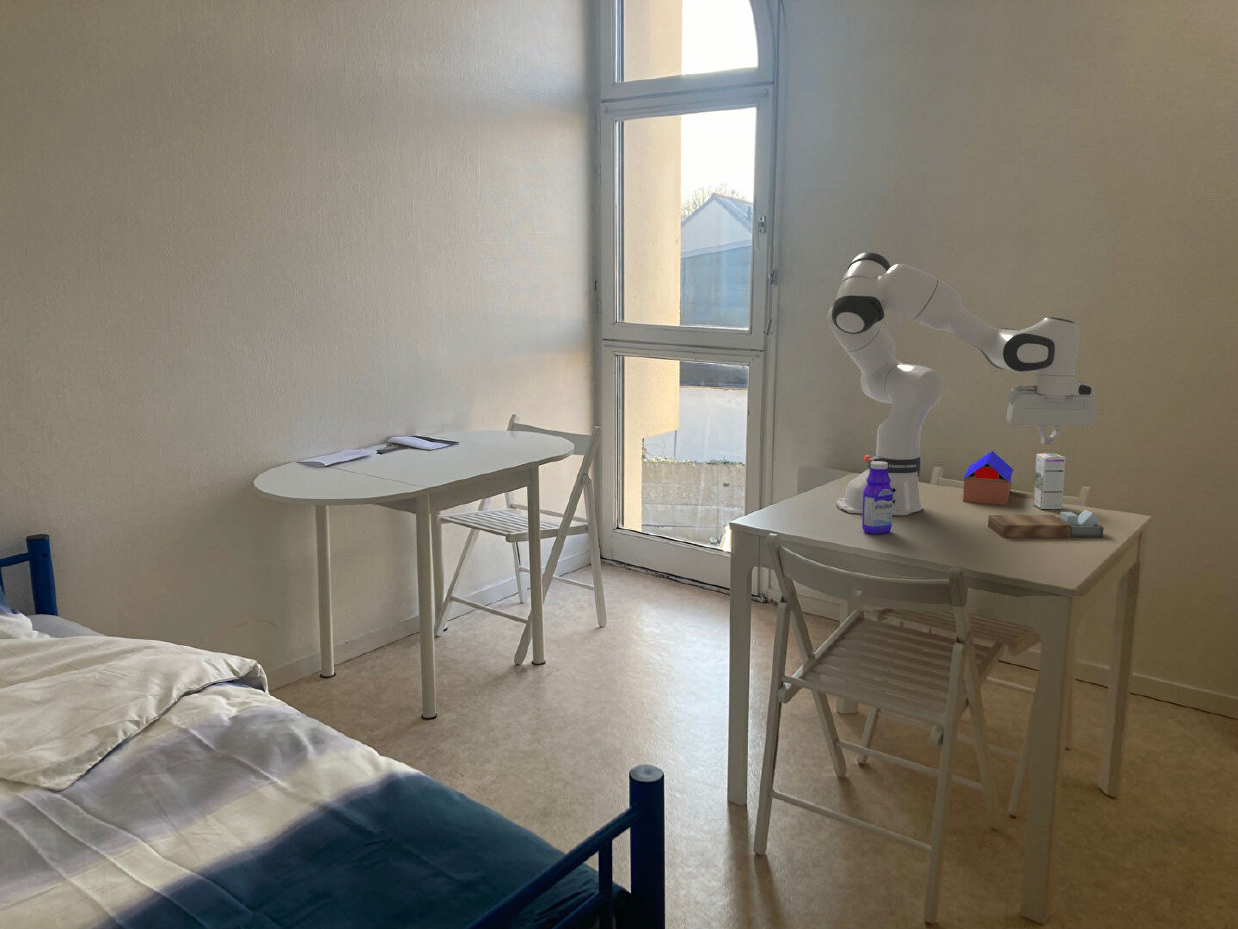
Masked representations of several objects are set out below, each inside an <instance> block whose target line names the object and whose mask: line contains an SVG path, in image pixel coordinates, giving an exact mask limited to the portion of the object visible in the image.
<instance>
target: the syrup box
mask: <svg viewBox="0 0 1238 929" xmlns="http://www.w3.org/2000/svg"><path fill="white" fill-rule="evenodd" d="M1035 458H1036V459H1035V470H1034V471H1035V472H1034V474H1035V475H1034V486H1033V502H1032V505H1033V506H1034V505H1035V507H1036V508H1038V509H1039V508H1040V510H1041V509H1063V498H1064V488H1065V487H1064V484H1065V472H1066V471H1065V469H1066V457H1065V456H1063V455H1060V454H1057V453H1052V452H1051V453H1045V452H1044V453H1036V457H1035Z"/></svg>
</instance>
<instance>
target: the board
mask: <svg viewBox="0 0 1238 929" xmlns="http://www.w3.org/2000/svg"><path fill="white" fill-rule="evenodd" d="M1058 517H1059V516H1055V515H1054V514H988V520H987V522H988V523H987V527H988V528H989V529H990V530H992V531H993V532H995V533H996V534H997V535H999V536H1000V537H1002V538H1071V537H1070V533H1071V525H1070V524H1068V523H1066V522H1065V521H1063V520H1061V519H1059V518H1058Z"/></svg>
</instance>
